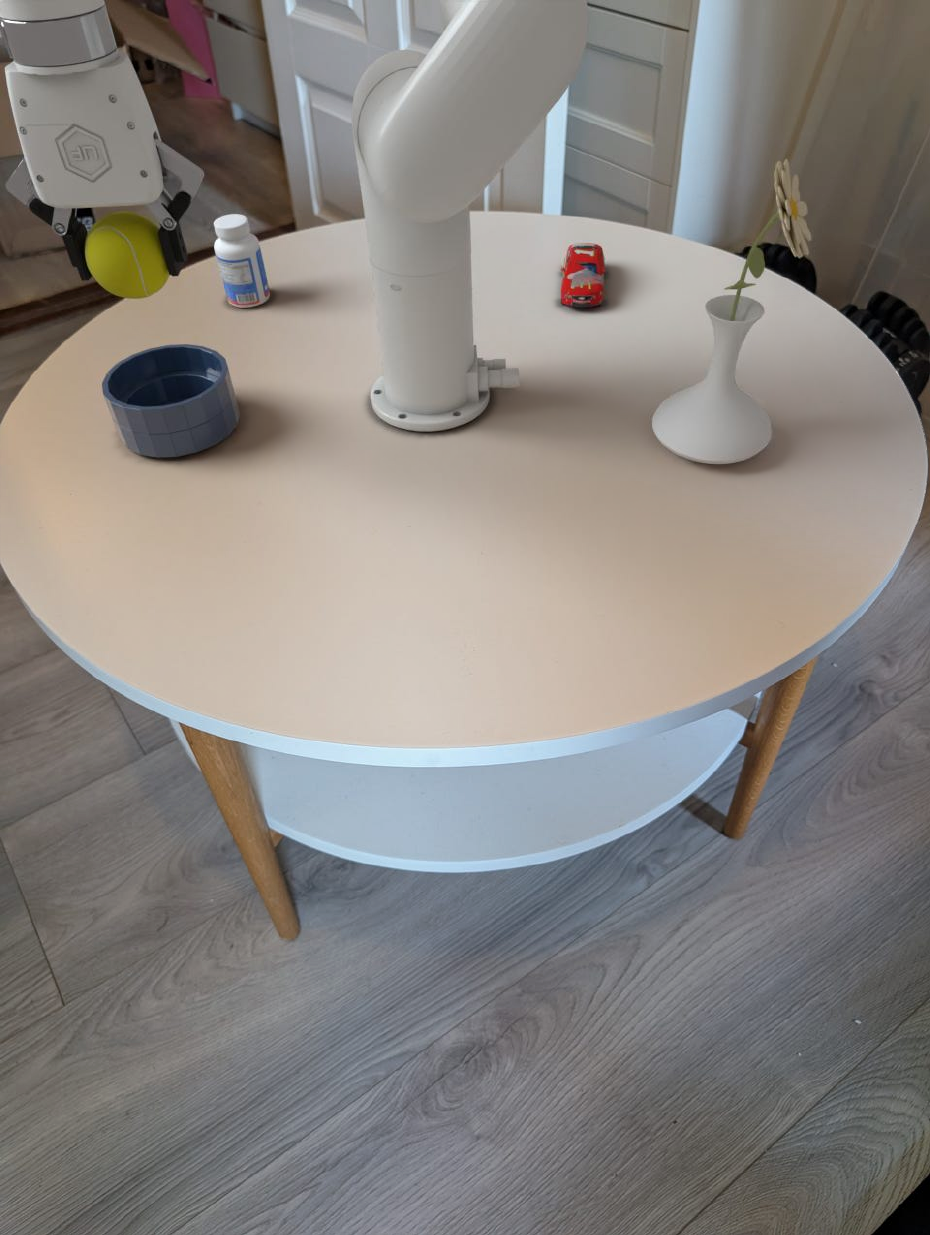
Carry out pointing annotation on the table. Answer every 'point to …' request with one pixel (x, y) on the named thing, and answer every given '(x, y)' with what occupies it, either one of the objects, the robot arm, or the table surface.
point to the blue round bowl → (171, 400)
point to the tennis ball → (126, 255)
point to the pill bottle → (240, 262)
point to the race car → (583, 275)
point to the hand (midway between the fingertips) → (133, 270)
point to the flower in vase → (731, 359)
